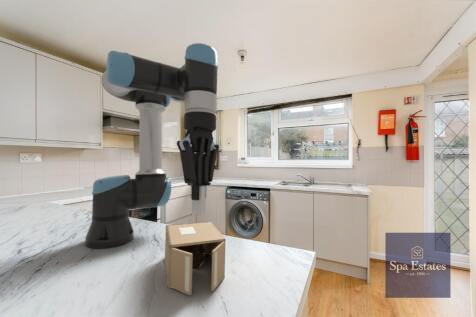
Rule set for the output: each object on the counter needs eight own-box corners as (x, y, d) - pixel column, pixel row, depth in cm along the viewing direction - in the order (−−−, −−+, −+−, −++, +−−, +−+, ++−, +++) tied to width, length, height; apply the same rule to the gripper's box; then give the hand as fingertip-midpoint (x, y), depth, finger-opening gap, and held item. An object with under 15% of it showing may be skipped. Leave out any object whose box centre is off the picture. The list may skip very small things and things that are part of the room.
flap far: (211, 290, 50) (212, 251, 50) (221, 277, 55) (222, 241, 55) (213, 291, 49) (214, 251, 49) (224, 277, 55) (224, 242, 55)
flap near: (171, 286, 51) (172, 247, 51) (191, 294, 48) (192, 253, 48) (170, 287, 50) (170, 248, 51) (189, 295, 48) (190, 254, 48)
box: (196, 270, 59) (197, 243, 59) (176, 268, 61) (177, 241, 61) (204, 260, 65) (205, 236, 65) (186, 258, 67) (186, 234, 67)
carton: (164, 258, 66) (165, 225, 66) (210, 252, 71) (210, 221, 71) (167, 287, 51) (168, 244, 51) (224, 277, 56) (225, 238, 56)
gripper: (204, 119, 59) (203, 206, 59) (168, 109, 48) (165, 217, 47) (228, 117, 55) (226, 210, 55) (194, 105, 44) (192, 222, 44)
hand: (198, 213), depth 51 cm, fingers closed
